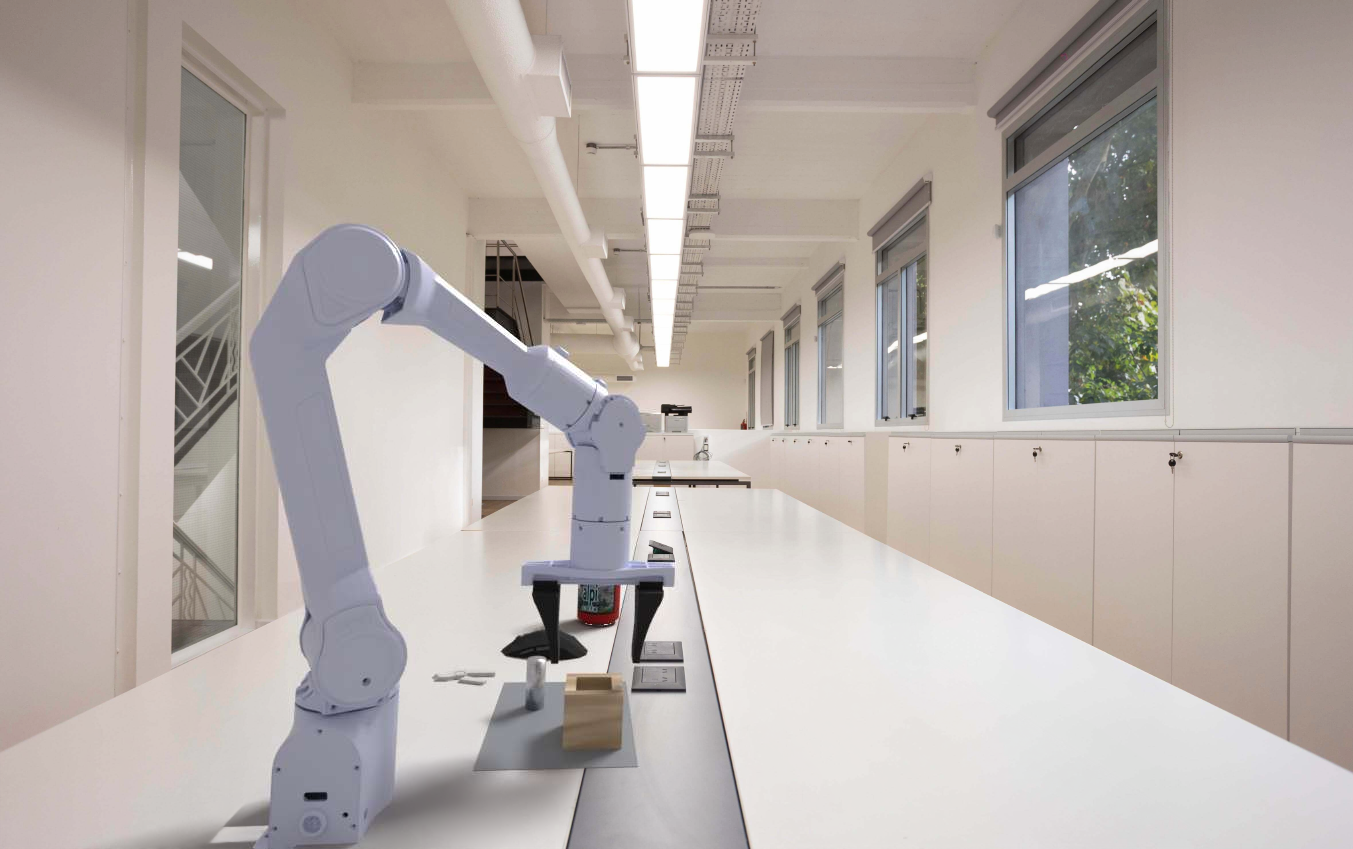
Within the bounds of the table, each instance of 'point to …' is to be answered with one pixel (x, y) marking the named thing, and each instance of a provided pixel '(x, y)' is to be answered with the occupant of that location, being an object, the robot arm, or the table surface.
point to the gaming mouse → (544, 646)
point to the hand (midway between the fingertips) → (595, 660)
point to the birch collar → (593, 711)
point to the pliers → (464, 676)
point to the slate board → (544, 735)
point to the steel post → (535, 683)
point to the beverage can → (598, 604)
